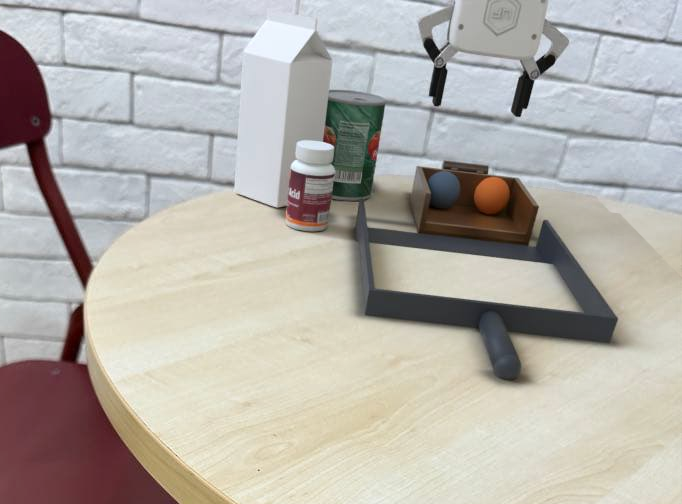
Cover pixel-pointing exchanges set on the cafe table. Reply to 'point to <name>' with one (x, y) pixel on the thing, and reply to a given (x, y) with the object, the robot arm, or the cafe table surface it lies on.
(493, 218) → the drawer
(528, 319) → the grey frame with handle
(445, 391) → the cafe table surface
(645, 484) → the cafe table surface
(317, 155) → the pill bottle
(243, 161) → the milk carton
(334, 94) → the canned tomato
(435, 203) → the blue ball
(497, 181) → the orange ball
